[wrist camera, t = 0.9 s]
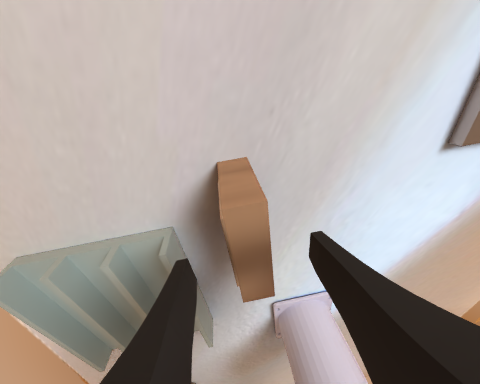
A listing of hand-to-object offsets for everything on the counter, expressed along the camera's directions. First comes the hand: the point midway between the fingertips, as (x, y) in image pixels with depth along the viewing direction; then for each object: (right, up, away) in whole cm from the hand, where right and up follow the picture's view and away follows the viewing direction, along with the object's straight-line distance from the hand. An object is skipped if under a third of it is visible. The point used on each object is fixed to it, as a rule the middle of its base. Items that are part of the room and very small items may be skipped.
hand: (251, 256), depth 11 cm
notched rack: (-12, -7, +9) cm, 16 cm away
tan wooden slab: (-1, +3, +5) cm, 6 cm away
